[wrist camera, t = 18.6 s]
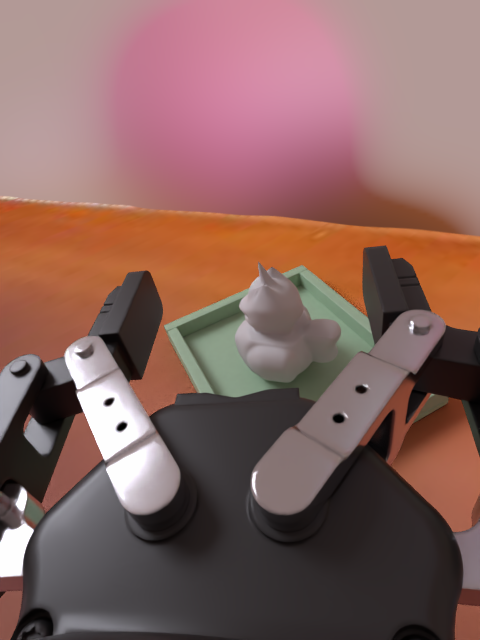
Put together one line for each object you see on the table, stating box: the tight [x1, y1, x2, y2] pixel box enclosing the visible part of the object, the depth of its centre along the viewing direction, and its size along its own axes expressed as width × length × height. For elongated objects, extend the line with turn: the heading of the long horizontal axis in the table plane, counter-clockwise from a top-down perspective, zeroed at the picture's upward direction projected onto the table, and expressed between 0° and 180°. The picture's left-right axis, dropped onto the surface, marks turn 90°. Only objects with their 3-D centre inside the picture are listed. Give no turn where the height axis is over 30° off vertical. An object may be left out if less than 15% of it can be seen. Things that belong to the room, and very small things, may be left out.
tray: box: [164, 265, 449, 424], centre depth 27 cm, size 15×12×2 cm
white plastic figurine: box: [235, 262, 341, 383], centre depth 24 cm, size 5×7×8 cm
